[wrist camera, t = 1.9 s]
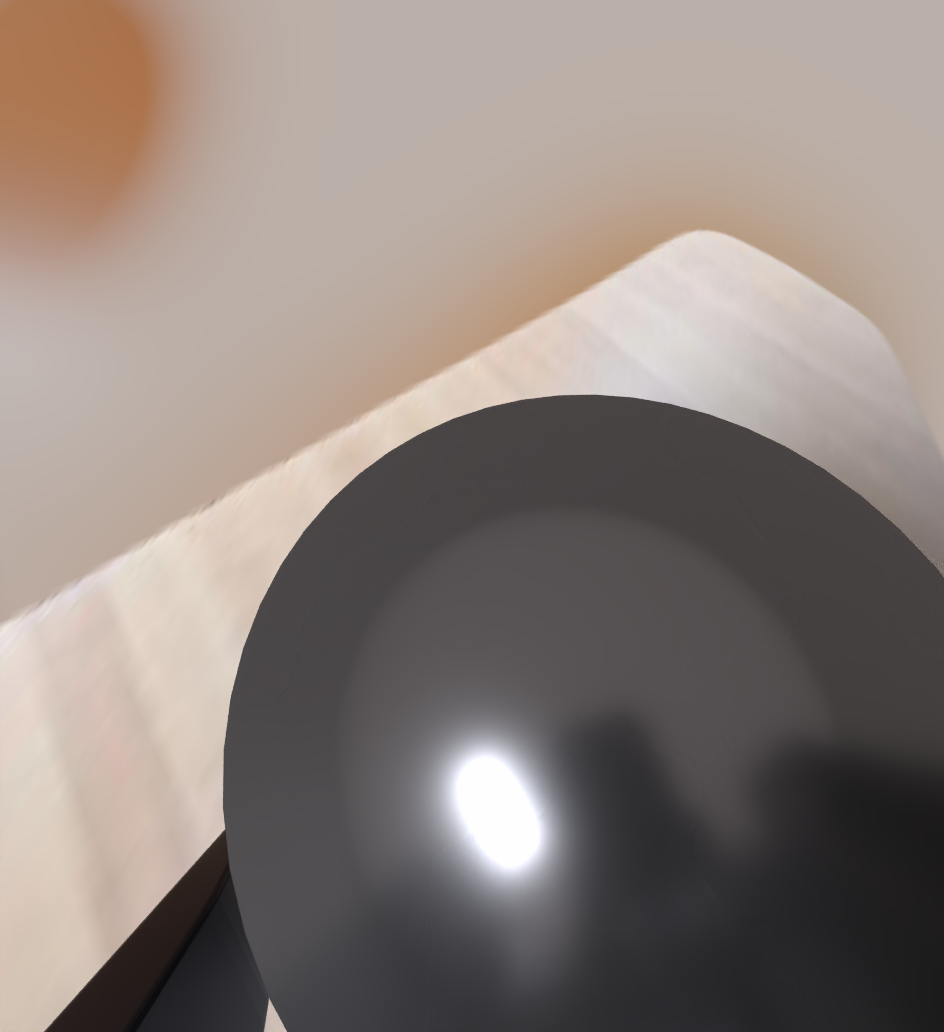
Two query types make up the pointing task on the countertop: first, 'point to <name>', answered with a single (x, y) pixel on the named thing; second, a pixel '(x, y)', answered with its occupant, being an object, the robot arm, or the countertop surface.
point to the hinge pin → (594, 740)
